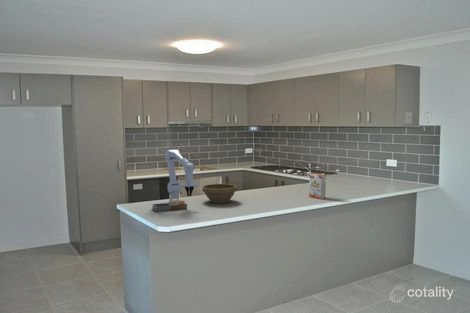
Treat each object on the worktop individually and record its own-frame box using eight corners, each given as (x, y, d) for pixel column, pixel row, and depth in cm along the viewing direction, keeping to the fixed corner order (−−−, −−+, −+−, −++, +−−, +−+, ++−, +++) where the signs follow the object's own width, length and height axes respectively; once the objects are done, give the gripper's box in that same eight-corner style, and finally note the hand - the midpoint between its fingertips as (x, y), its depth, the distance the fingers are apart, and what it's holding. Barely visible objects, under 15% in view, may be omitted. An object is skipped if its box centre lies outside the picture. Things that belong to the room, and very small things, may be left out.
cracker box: (308, 196, 365) (309, 173, 363) (313, 196, 369) (313, 173, 367) (320, 199, 354) (321, 175, 352) (325, 198, 358) (326, 174, 356)
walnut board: (168, 207, 323) (168, 202, 323) (182, 206, 328) (182, 201, 327) (171, 210, 312) (171, 205, 312) (186, 209, 317) (186, 204, 316)
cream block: (171, 202, 323) (171, 199, 323) (176, 201, 324) (176, 198, 324) (173, 203, 319) (172, 200, 319) (178, 202, 321) (178, 199, 321)
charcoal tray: (152, 208, 319) (152, 204, 318) (167, 207, 323) (167, 202, 323) (155, 211, 308) (155, 207, 307) (171, 210, 312) (171, 206, 312)
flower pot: (197, 200, 351) (197, 184, 349) (227, 197, 364) (227, 182, 362) (211, 206, 326) (210, 190, 324) (242, 203, 339) (242, 187, 337)
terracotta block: (178, 203, 319) (178, 200, 319) (183, 203, 320) (183, 199, 320) (179, 204, 315) (179, 201, 315) (184, 204, 317) (184, 200, 316)
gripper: (181, 180, 312) (181, 197, 313) (199, 179, 317) (199, 196, 319) (179, 178, 318) (179, 196, 320) (197, 177, 324) (197, 194, 325)
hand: (189, 196), depth 320 cm, fingers closed
